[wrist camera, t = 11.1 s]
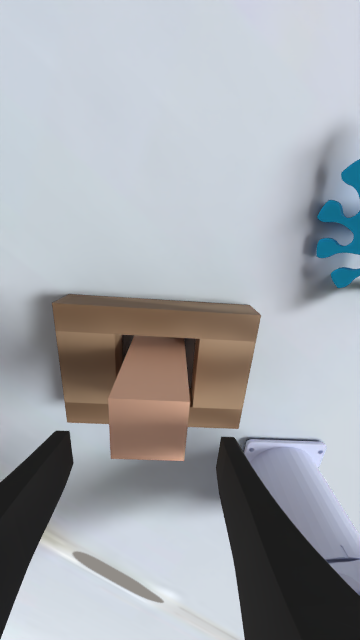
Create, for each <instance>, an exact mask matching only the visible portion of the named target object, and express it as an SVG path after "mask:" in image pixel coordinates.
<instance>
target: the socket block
mask: <svg viewBox="0 0 360 640" xmlns="http://www.w3.org/2000/svg"><path fill="white" fill-rule="evenodd" d="M52 307H53V315H54V323H55V330H56V338H57V346H58V354H59V362H60V370H61V377H62V385H63V393H64V401H65V409H66V416H67V422H69V423H96V424H109V408H108V397H109V395H110V393H111V390H112V388H113V385H114V383H115V381H116V378H117V376H118V373H119V371H120V369H121V366H122V364H123V339H122V335H138V336H157V337H176V338H194V339H195V349H194V359H193V370H192V380H191V388H189V396H190V407H189V417H188V427H204V428H231V429H238V428H239V423H240V418H241V413H242V408H243V403H244V398H245V393H246V388H247V383H248V378H249V373H250V368H251V363H252V358H253V353H254V348H255V343H256V338H257V333H258V328H259V323H260V318H261V315H260V314H259V313H258V312H257V311H256V310H255V309H253V308H252V307H251V306H250V305H240V304H223V303H207V302H190V301H173V300H157V299H140V298H124V297H107V296H91V295H74V294H68V295H66V296H64V297H62V298H61V299H59V300H57V301H55V302H53V303H52Z"/></svg>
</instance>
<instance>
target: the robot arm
mask: <svg viewBox="0 0 360 640" xmlns="http://www.w3.org/2000/svg"><path fill="white" fill-rule="evenodd" d="M326 448H327V446H326V445H325V443H324V442H317V441H288V440H260V439H250V440H248V441H247V442H246V446H245V450H244V453H243V451H242V449H241V448H240V446H239V444H238V442H237V441H236V439H235V438H234V437H221V442H220V447H219V453H218V459H217V465H216V471H217V480H218V488H219V495H220V499H221V504H222V509H223V513H224V518H225V523H226V527H227V532H228V537H229V541H230V546H231V550H232V555H233V561H234V566H235V572H236V579H237V586H238V593H239V600H240V607H241V614H242V622H243V629H244V637H245V640H360V534H359V533H358V531H357V530H356V528H355V526H354V525H353V523H352V522H351V520H350V518H349V517H348V515H347V513H346V512H345V510H344V509H343V507H342V505H341V504H340V502H339V501H338V499H337V497H336V496H335V494H334V493H333V491H332V489H331V488H330V486H329V485H328V483H327V481H326V480H325V478H324V476H323V475H322V473H321V472H320V470H319V466H320V464H321V461H322V459H323V456H324V453H325V451H326ZM72 465H73V456H72V448H71V440H70V432H69V431H55V432H54V433H53V434H52V435H51V436H50V437H49V438H48V439H47V440H46V441H45V442H44V443H42V444H41V445H40V446H39V447H38V448H37V449H36V450H35V451H34V452H33V453H32V454H31V455H30V456H29V457H28V458H27V459H26V460H25V461H24V462H22V463H21V464H20V465H19V466H18V467H17V468H16V469H15V470H14V471H13V472H12V473H11V474H9V475H8V476H7V477H6V478H5V479H4V480H3V481H1V482H0V639H1V636H2V634H3V631H4V628H5V626H6V623H7V620H8V618H9V615H10V612H11V609H12V607H13V604H14V601H15V599H16V596H17V594H18V591H19V589H20V586H21V584H22V581H23V578H24V576H25V573H26V571H27V568H28V566H29V563H30V561H31V559H32V557H33V554H34V552H35V550H36V548H37V546H38V543H39V541H40V539H41V537H42V535H43V533H44V531H45V529H46V527H47V524H48V522H49V520H50V518H51V516H52V514H53V512H54V510H55V507H56V505H57V503H58V501H59V499H60V497H61V495H62V492H63V490H64V488H65V485H66V483H67V480H68V477H69V474H70V471H71V468H72Z"/></svg>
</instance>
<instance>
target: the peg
mask: <svg viewBox="0 0 360 640" xmlns="http://www.w3.org/2000/svg"><path fill="white" fill-rule="evenodd" d="M189 407H190V396H189V385H188V374H187V363H186V352H185V341H184V338H176V337H157V336H138V335H134V337H133V340H132V342H131V345H130V347H129V349H128V352H127V354H126V357H125V359H124V361H123V364H122V366H121V369H120V371H119V373H118V376H117V378H116V381H115V383H114V385H113V388H112V390H111V393H110V395H109V397H108V408H109V429H110V450H111V459H138V460H170V461H184V456H185V446H186V436H187V427H188V417H189Z"/></svg>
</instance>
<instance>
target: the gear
mask: <svg viewBox="0 0 360 640" xmlns="http://www.w3.org/2000/svg"><path fill="white" fill-rule="evenodd" d="M341 177H342V180H343V181H344V182H345V183H347V184H348V185H351V186H353V187H354V188H355V189H356V190H357V192H358V194H359V197H360V159H359V160H357V161H356V162H354V163H353V164H351V165H350V166H349V167H347V168H346V169H345V170H344V171H343V172H342V173H341ZM317 218H318V219H319V220H320V221H322V222H337V223H340V224H343V225H344V226H346V227H347V228H348V229H349V230H351V231H352V232H353V234H354V239H353V241H352V242H351V243H350V244H349V245H347V246H342V245H340V244H339V243H338V242H337V241H336V240H334V239H332V238H323V239H320V240H319V241H318V244H317V251H316V252H317V257H319V258H326V257H330V256H332V255H334V254H337V253H353V254H358V255H360V211H359V212H358V214H356V215H355V216H353V217H351V218H347V217H345V216H344V213H343V208H342V205H341V204H340V203H339V202H337V201H334V200H329V201H327V202H326V203H325V205H324V206H323V207H322V209H321V210H320V212H319V214H318V216H317ZM358 276H360V269H351V268H346V267H342V268H338V269H336V270H334V271H333V272H332V273H331V278H332V280H333V282H334V284H335V285H336V286H337V288H343V287H346V286H347V285H349V284H350V283H351V282H352V281H353V280H354V279H355V278H357V277H358Z"/></svg>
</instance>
